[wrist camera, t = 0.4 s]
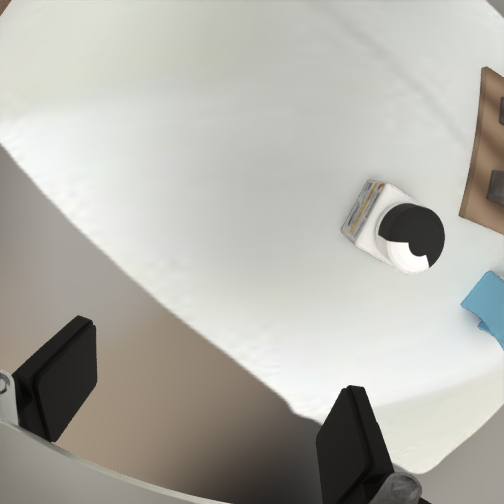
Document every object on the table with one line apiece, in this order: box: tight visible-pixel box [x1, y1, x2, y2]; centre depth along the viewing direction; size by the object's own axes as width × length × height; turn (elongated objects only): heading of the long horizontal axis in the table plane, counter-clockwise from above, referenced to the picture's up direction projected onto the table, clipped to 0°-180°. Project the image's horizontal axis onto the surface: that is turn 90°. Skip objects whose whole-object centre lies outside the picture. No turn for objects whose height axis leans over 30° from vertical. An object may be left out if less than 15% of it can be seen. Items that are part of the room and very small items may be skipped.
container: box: [341, 180, 445, 275], centre depth 33 cm, size 8×8×13 cm
